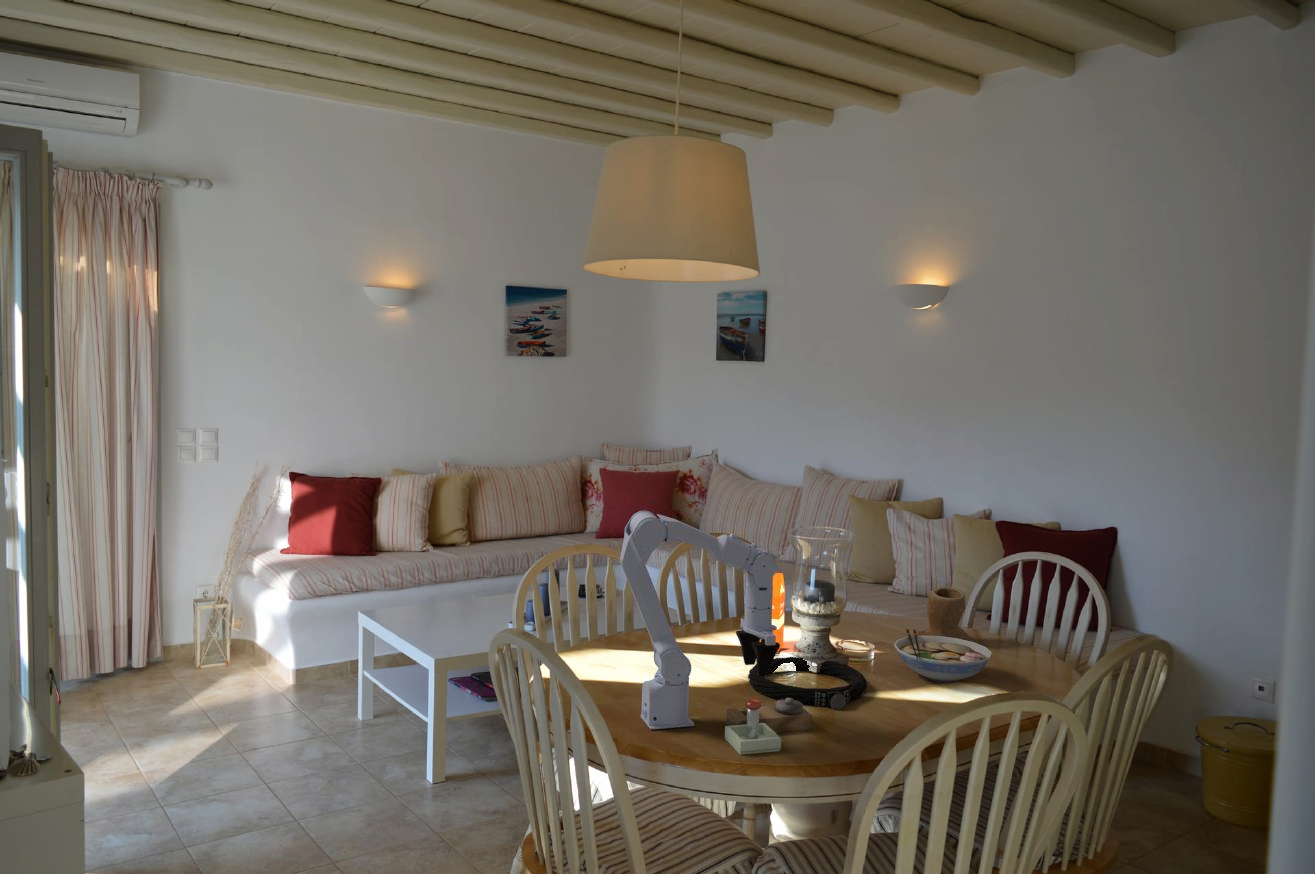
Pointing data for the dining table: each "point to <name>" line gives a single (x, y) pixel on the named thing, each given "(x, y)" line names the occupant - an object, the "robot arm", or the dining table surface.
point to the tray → (764, 744)
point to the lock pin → (752, 719)
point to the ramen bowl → (942, 656)
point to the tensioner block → (775, 716)
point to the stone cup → (945, 613)
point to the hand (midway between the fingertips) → (756, 669)
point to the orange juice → (778, 607)
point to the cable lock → (816, 696)
